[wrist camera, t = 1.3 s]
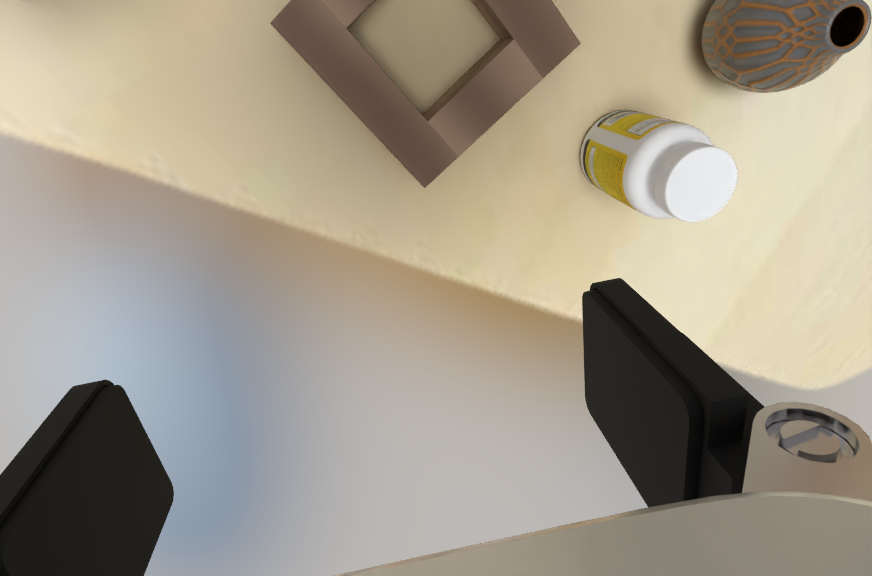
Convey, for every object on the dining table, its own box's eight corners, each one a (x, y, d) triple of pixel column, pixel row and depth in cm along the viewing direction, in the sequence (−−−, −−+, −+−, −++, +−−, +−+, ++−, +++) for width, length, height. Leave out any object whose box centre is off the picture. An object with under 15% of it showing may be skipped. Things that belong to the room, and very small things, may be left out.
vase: (792, -42, 33) (932, -69, 25) (778, 77, 36) (899, 87, 28) (685, -23, 32) (792, -44, 24) (680, 96, 35) (774, 112, 27)
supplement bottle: (618, 203, 38) (698, 253, 29) (562, 162, 36) (629, 202, 27) (670, 138, 36) (771, 169, 27) (614, 92, 34) (703, 109, 26)
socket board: (433, -144, 28) (441, -164, 25) (562, 43, 33) (580, 43, 30) (278, 24, 30) (270, 22, 28) (419, 176, 35) (424, 188, 32)
